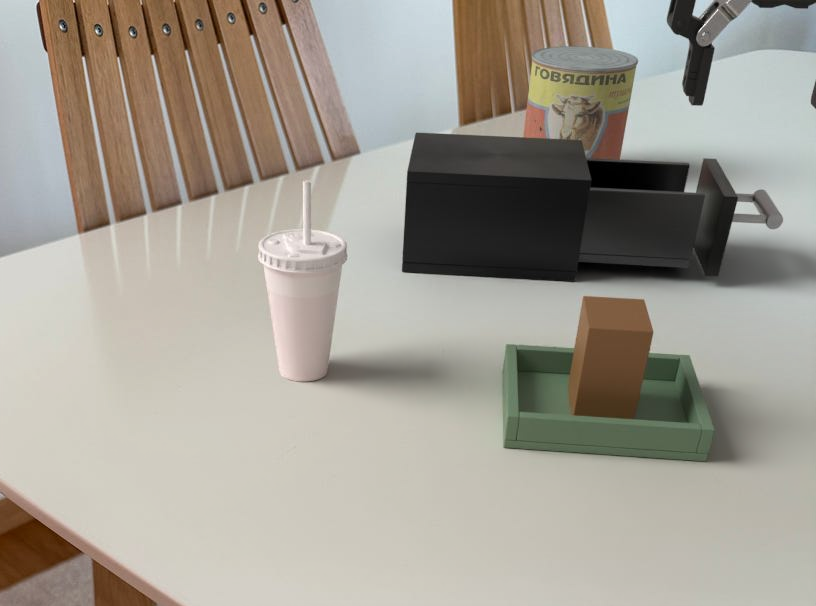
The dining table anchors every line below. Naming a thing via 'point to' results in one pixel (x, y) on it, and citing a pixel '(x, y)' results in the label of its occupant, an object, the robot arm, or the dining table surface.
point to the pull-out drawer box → (664, 214)
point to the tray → (641, 437)
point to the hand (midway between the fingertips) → (756, 105)
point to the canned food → (581, 97)
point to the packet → (609, 357)
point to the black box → (495, 206)
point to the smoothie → (303, 293)
